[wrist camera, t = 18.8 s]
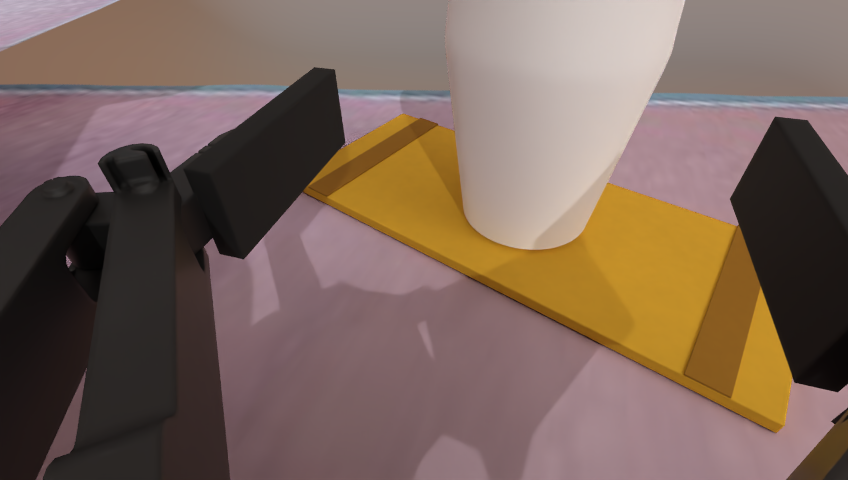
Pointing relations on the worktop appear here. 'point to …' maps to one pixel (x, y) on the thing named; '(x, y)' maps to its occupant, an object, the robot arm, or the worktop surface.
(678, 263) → the towel
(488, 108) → the cup
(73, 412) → the worktop surface
